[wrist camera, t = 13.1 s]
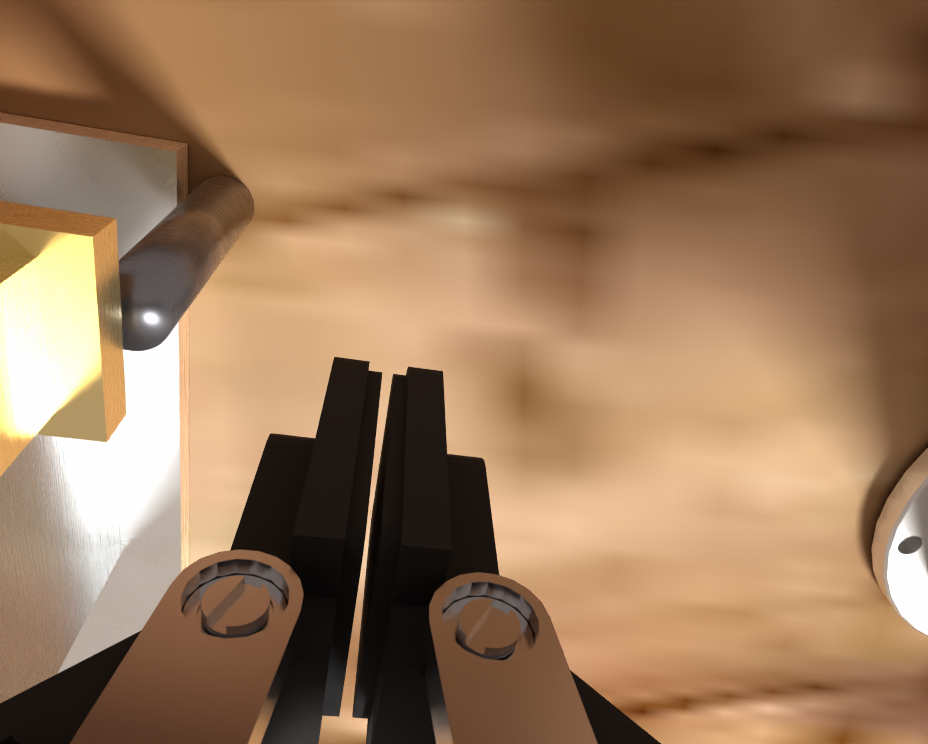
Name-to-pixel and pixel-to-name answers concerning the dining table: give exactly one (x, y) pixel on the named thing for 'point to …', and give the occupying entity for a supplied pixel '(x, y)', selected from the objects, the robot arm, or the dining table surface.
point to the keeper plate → (58, 327)
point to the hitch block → (147, 402)
